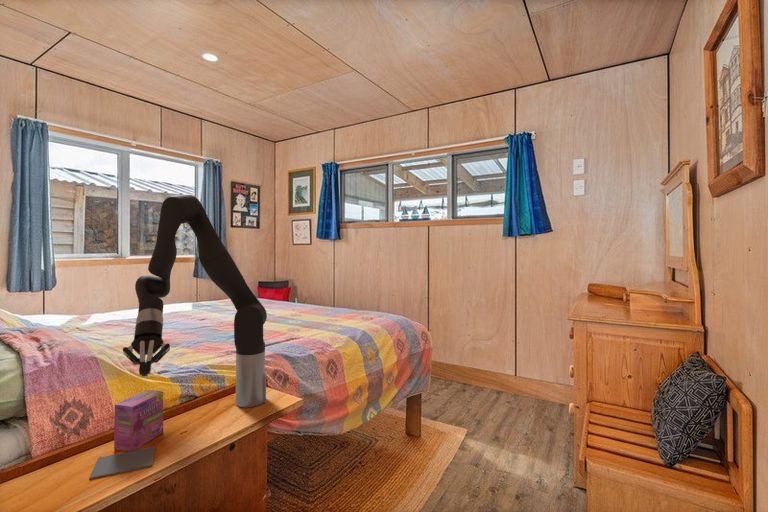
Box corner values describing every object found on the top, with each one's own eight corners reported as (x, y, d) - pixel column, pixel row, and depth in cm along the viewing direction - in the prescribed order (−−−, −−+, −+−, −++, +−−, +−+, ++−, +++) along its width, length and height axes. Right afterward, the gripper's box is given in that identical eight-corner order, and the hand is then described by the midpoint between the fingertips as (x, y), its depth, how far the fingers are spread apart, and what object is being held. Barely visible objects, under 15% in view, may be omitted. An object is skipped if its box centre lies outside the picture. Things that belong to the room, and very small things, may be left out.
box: (132, 452, 95) (132, 406, 95) (113, 449, 96) (113, 404, 96) (164, 432, 105) (164, 391, 105) (146, 430, 106) (146, 389, 106)
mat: (155, 447, 97) (155, 446, 97) (152, 466, 89) (152, 464, 89) (98, 459, 91) (98, 457, 91) (89, 479, 83) (89, 478, 83)
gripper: (123, 320, 116) (115, 371, 105) (172, 317, 122) (169, 366, 111) (126, 334, 121) (118, 384, 110) (173, 330, 127) (170, 378, 116)
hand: (144, 375), depth 111 cm, fingers closed
